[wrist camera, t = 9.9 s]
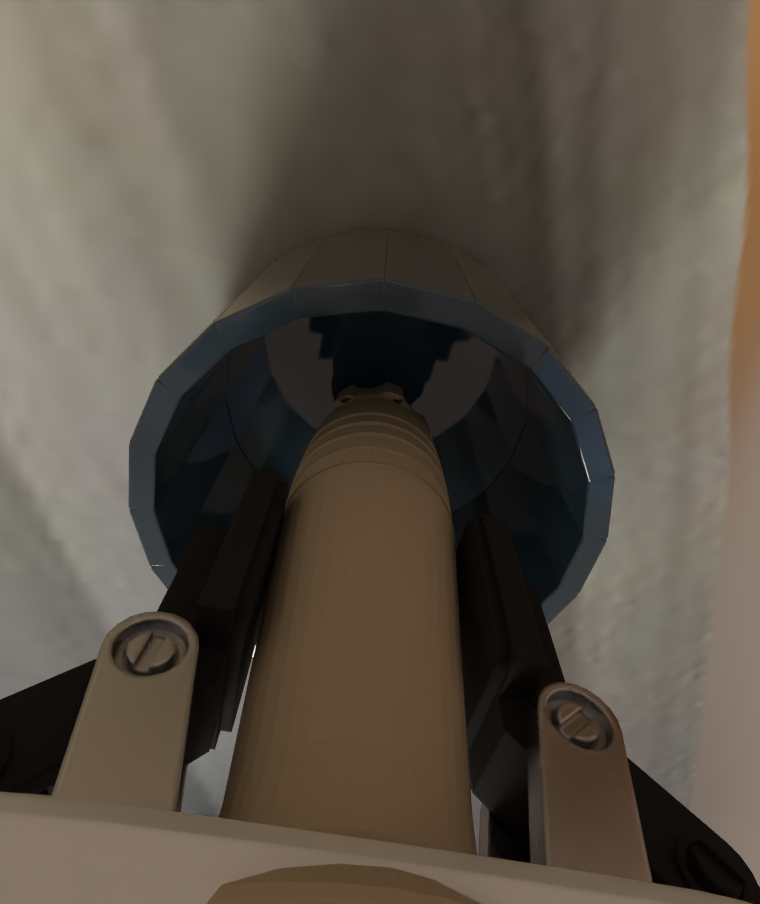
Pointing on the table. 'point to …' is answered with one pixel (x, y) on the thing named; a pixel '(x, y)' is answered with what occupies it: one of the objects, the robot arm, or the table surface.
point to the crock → (371, 365)
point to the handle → (358, 664)
